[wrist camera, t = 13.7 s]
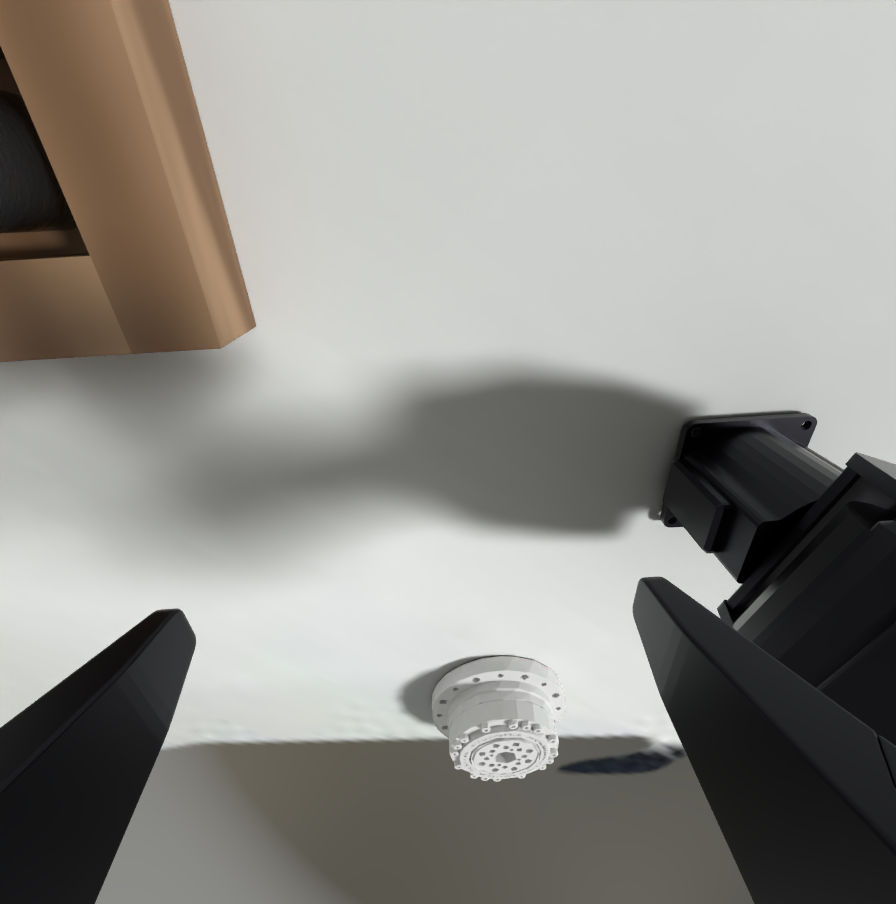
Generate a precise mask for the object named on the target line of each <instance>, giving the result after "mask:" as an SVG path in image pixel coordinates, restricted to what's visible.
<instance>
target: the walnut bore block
mask: <svg viewBox="0 0 896 904" xmlns="http://www.w3.org/2000/svg"><path fill="white" fill-rule="evenodd" d="M0 90H4V91H7V92H11V93H14V94H18V95H21V96H22V98H23V100H24V102H25V105H26V107H27V109H28V112H29V114H30V116H31V119H32V121H33V123H34V126H35V128H36V130H37V133H38V135H39V137H40V140H41V142H42V144H43V147H44V149H45V152H46V154H47V156H48V159H49V161H50V163H51V166H52V168H53V170H54V173H55V175H56V177H57V180H58V182H59V184H60V187H61V189H62V191H63V194H64V196H65V198H66V201H67V203H68V206H69V208H70V210H71V213H72V215H73V217H74V220H75V222H76V224H77V227H75V228H73V229H69V230H63V231H44V232H21V233H0V362H7V361H23V360H40V359H56V358H72V357H89V356H105V355H121V354H138V353H154V352H170V351H186V350H203V349H219V348H222V347H224V346H226V345H227V344H229V343H230V342H232V341H234V340H235V339H237V338H238V337H240V336H242V335H243V334H245V333H246V332H248V331H250V330H251V329H253V328H254V327H256V324H255V320H254V316H253V312H252V309H251V305H250V301H249V298H248V294H247V290H246V287H245V283H244V279H243V275H242V272H241V268H240V264H239V261H238V257H237V253H236V249H235V246H234V242H233V238H232V235H231V231H230V227H229V224H228V220H227V216H226V212H225V209H224V205H223V201H222V198H221V194H220V190H219V187H218V183H217V179H216V175H215V172H214V168H213V164H212V161H211V157H210V153H209V150H208V146H207V142H206V138H205V135H204V131H203V127H202V124H201V120H200V116H199V113H198V109H197V105H196V101H195V98H194V94H193V90H192V87H191V83H190V79H189V76H188V72H187V68H186V64H185V61H184V57H183V53H182V50H181V46H180V42H179V39H178V35H177V31H176V27H175V24H174V20H173V16H172V13H171V9H170V5H169V1H168V0H0Z"/></svg>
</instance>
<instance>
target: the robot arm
mask: <svg viewBox="0 0 896 904" xmlns="http://www.w3.org/2000/svg"><path fill="white" fill-rule="evenodd" d="M804 422H805V423H804ZM803 423H804V424H803ZM802 424H803V425H802ZM801 425H802V426H801ZM816 425H817V420H816V418H815V417H813V416H811V415H809V414H807V413H797V414H781V415H765V416H749V417H733V418H717V419H701V420H692V421H689V422H687V423H686V424H685V425H684V426H683V428H682V431H681V435H680V439H679V443H678V447H677V451H676V455H675V459H674V461H673V463H672V465H671V469H670V473H669V477H668V481H667V485H666V489H665V494H664V498H663V502H664V504H663V508H662V512H661V516H660V519H661V521H662V522H663V524H664V525H665V526H666V527H684V528H685V529H686V530H687V531H688V533H689V534H690V535H691V536H692V538H693V539H694V540H695V541H696V543H697V544H698V545H699V546H700V547H701V549H702V550H704V551H705V552H706V553H713V554H714V555H715V556H716V557H717V558H718V560H719V561H720V562H721V563H722V564H723V565H724V567H725V568H726V569H727V570H728V571H729V573H730V574H731V575H732V576H733V577H734V579H735V580H736V581H737V582H738V583H741V584H742V585H741V586H740V587H739V588H738V589H737V590H736V592H735V593H734V594H733V595H732V596H731V597H730V598H729V599H728V600H724V601H723V602H722V604H721V605H720V606H719V607H718V608H717V610H718V613H719V615H720V618H721V619H720V618H719V617H717V616H716V615H715V614H713V613H712V612H710V611H709V610H708V609H706V608H705V607H704V606H702V605H701V604H699V603H698V602H697V601H695V600H694V599H693V598H691V597H690V596H688V595H687V594H686V593H684V592H683V591H682V590H680V589H679V588H677V587H676V586H675V585H673V584H672V583H671V582H669V581H668V580H666V579H665V578H663V577H645V578H641V579H640V580H639V582H638V586H637V590H636V594H635V599H634V603H633V616H634V620H635V623H636V626H637V629H638V631H639V634H640V637H641V640H642V643H643V646H644V649H645V652H646V655H647V658H648V661H649V664H650V667H651V670H652V673H653V676H654V679H655V682H656V685H657V687H658V690H659V693H660V696H661V698H662V700H663V703H664V705H665V708H666V710H667V712H668V714H669V717H670V719H671V721H672V723H673V725H674V728H675V730H676V732H677V734H678V736H679V739H680V741H681V743H682V745H683V747H684V750H685V752H686V754H687V756H688V758H689V761H690V763H691V765H692V767H693V769H694V771H695V774H696V776H697V778H698V780H699V783H700V785H701V787H702V789H703V791H704V794H705V796H706V798H707V800H708V803H709V805H710V807H711V809H712V811H713V813H714V816H715V818H716V820H717V822H718V825H719V826H720V829H721V831H722V833H723V835H724V838H725V840H726V842H727V844H728V846H729V849H730V851H731V853H732V855H733V857H734V860H735V862H736V864H737V866H738V869H739V871H740V873H741V875H742V877H743V880H744V882H745V884H746V886H747V888H748V891H749V893H750V895H751V897H752V900H753V902H754V904H896V465H895V464H892V463H889V462H886V461H883V460H879V459H876V458H873V457H870V456H867V455H864V454H860V453H857V452H856V453H855V454H854V455H853V456H852V457H851V458H850V460H849V461H848V462H847V463H846V465H847V467H846V469H845V470H844V469H842V468H840V467H839V466H837V465H835V464H834V463H832V462H830V461H829V460H827V459H826V458H824V457H822V456H821V455H819V454H817V453H816V452H814V451H813V450H811V449H809V448H808V447H807V446H808V444H809V442H810V439H811V437H812V434H813V432H814V430H815V427H816ZM695 428H697V429H696V431H695V432H694V433H691V432H692V430H693V429H695ZM671 517H673V518H671ZM670 518H671V519H670ZM195 646H196V637H195V634H194V632H193V630H192V628H191V626H190V624H189V622H188V620H187V618H186V616H185V615H184V613H183V611H181V610H180V609H162V610H157V611H155V612H153V613H152V614H150V615H149V616H148V617H147V618H145V619H144V620H143V621H141V622H140V623H139V624H137V625H136V626H135V627H133V628H132V629H131V630H129V631H128V632H127V633H125V634H124V635H123V636H121V637H120V638H119V639H117V640H116V641H115V642H113V643H112V644H111V645H109V646H108V647H107V648H105V649H104V650H103V651H101V652H100V653H99V654H97V655H96V656H95V657H94V658H92V659H91V660H90V661H88V662H87V663H86V664H84V665H83V666H82V667H80V668H79V669H78V670H76V671H75V672H74V673H72V674H71V675H70V676H68V677H67V678H66V679H64V680H63V681H62V682H60V683H59V684H58V685H56V686H55V687H54V688H52V689H51V690H50V691H48V692H47V693H46V694H44V695H43V696H42V697H41V698H39V699H38V700H37V701H35V702H34V703H33V704H31V705H30V706H29V707H27V708H26V709H25V710H23V711H22V712H21V713H19V714H18V715H17V716H15V717H14V718H13V719H11V720H10V721H9V722H7V723H6V724H5V725H3V726H2V727H1V728H0V904H95V902H96V899H97V897H98V895H99V892H100V890H101V888H102V885H103V883H104V881H105V878H106V876H107V874H108V871H109V869H110V866H111V864H112V862H113V860H114V857H115V855H116V852H117V850H118V848H119V845H120V843H121V841H122V838H123V836H124V834H125V831H126V829H127V827H128V824H129V822H130V820H131V817H132V815H133V813H134V810H135V808H136V805H137V803H138V801H139V798H140V796H141V794H142V791H143V789H144V787H145V785H146V782H147V780H148V777H149V775H150V773H151V770H152V768H153V766H154V763H155V761H156V759H157V756H158V754H159V752H160V749H161V747H162V745H163V742H164V740H165V737H166V735H167V732H168V730H169V727H170V724H171V721H172V718H173V715H174V712H175V709H176V706H177V703H178V700H179V697H180V694H181V691H182V687H183V684H184V681H185V678H186V675H187V672H188V669H189V666H190V663H191V659H192V656H193V653H194V650H195Z"/></svg>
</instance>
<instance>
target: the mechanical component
mask: <svg viewBox="0 0 896 904" xmlns="http://www.w3.org/2000/svg"><path fill="white" fill-rule="evenodd" d="M565 705H566V699H565V695H564V692H563V688H562V685H561V682H560V680H559V678H558V677H557V675H556V674H555V673H554V672H553V671H552V670H551V669H549V668H548V667H546V666H544V665H542V664H540V663H538V662H536V661H534V660H529V659H524V658H519V657H512V656H498V657H490V658H482V659H478V660H475V661H472V662H469V663H466V664H463V665H461V666H459V667H457V668H456V669H454V670H452V671H450V672H449V673H447V674H446V675H445V676H444V677H443V678H442V679H441V680H440V681H439V682H438V684H437V685H436V687H435V689H434V691H433V693H432V719H433V722H434V724H435V725H436V727H437V729H438V730H439V731H440V732H441V733H442V734H444V735H445V736H446V737H448V738H449V748H450V755H451V758H452V760H453V762H454V763H455V769H463V770H465V771H468V772H470V777H471V778H477V777H478V776H480V777H481V780H484V781H486V780H489V778H490V779H493V780H494V781H496V782H498V781H500V780H501V779H507V778H513V777H518V778H525V776H526V774H527V773H530V772H533V771H535V770H537V769H540V770H544V769H546V763H547V764H551V763H553V762H554V760H553V757H556V756H558V752H557V749H558V743H559V741H558V736H557V732H556V728H555V725H556V724H557V723H558V722H559V721H560V720H561V718H562V716H563V714H564V713H565Z"/></svg>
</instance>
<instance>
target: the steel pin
mask: <svg viewBox="0 0 896 904" xmlns="http://www.w3.org/2000/svg"><path fill="white" fill-rule="evenodd" d="M75 227H77V224H76V222H75V220H74V217H73V215H72V213H71V210H70V208H69V206H68V203H67V201H66V198H65V196H64V194H63V191H62V189H61V187H60V184H59V182H58V180H57V177H56V175H55V173H54V170H53V168H52V166H51V163H50V161H49V159H48V156H47V154H46V152H45V149H44V147H43V144H42V142H41V140H40V137H39V135H38V133H37V130H36V128H35V126H34V123H33V121H32V119H31V116H30V114H29V112H28V109H27V107H26V105H25V102H24V100H23V98H22V96H21V95H18V94H14V93H11V92H7V91H4V90H0V233H21V232H44V231H63V230H69V229H73V228H75Z"/></svg>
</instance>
